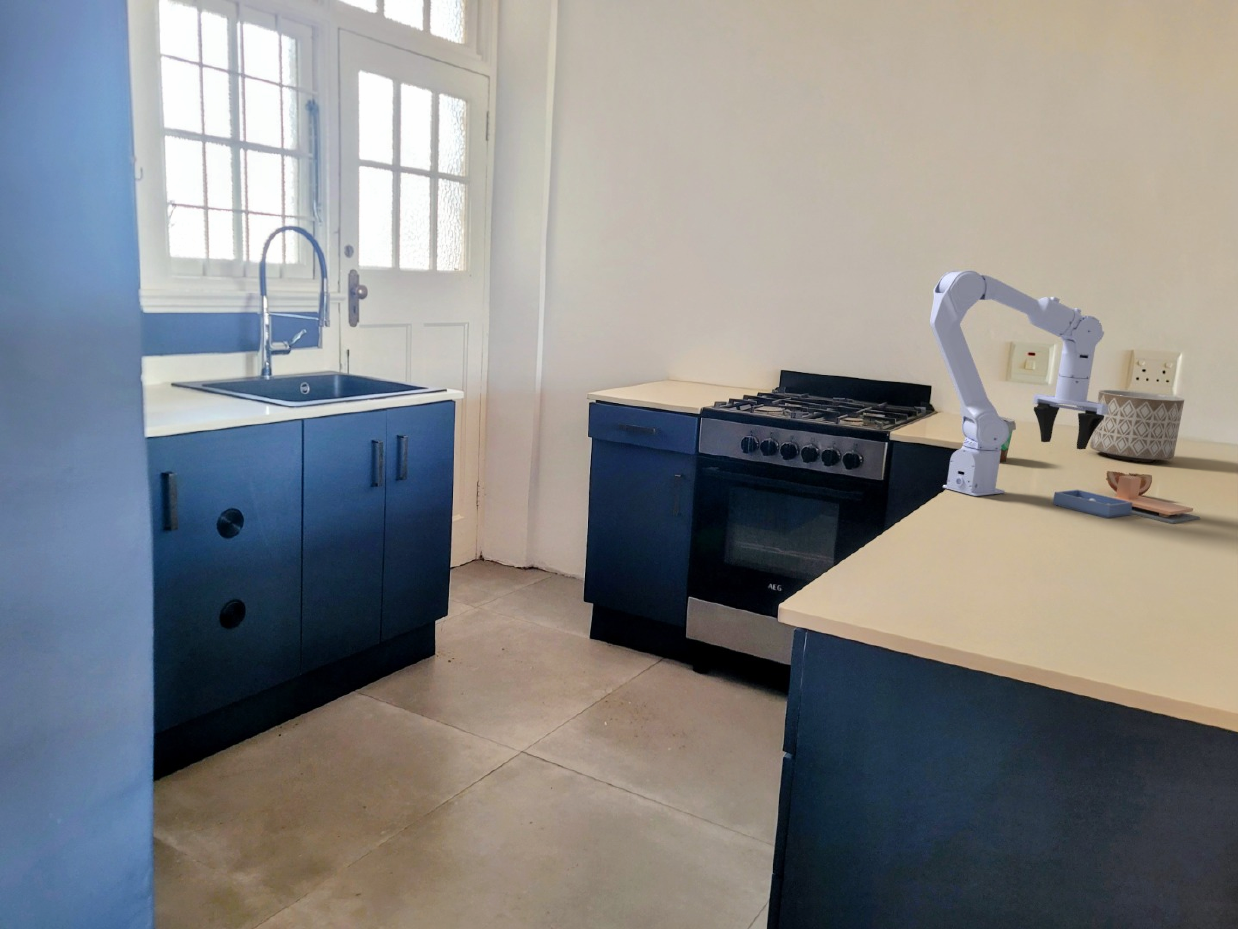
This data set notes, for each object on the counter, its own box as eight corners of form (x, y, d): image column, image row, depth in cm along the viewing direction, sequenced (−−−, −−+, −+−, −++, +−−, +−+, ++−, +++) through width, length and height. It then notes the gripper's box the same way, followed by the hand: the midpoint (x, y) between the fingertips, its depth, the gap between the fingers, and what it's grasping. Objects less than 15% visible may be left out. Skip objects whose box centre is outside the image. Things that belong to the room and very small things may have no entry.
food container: (1015, 465, 221) (1022, 423, 219) (988, 462, 222) (994, 421, 220) (1005, 456, 233) (1011, 416, 231) (979, 454, 234) (985, 414, 232)
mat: (1172, 523, 171) (1172, 521, 171) (1103, 506, 181) (1103, 504, 181) (1199, 518, 176) (1199, 516, 176) (1131, 502, 187) (1131, 500, 187)
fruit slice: (1105, 496, 192) (1109, 472, 191) (1100, 490, 198) (1104, 467, 197) (1151, 502, 190) (1155, 477, 189) (1144, 495, 196) (1148, 471, 195)
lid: (1169, 519, 172) (1174, 490, 171) (1107, 504, 182) (1112, 477, 180) (1191, 516, 176) (1197, 487, 175) (1130, 501, 186) (1135, 474, 185)
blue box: (1108, 518, 172) (1110, 505, 171) (1052, 504, 181) (1054, 492, 180) (1130, 514, 176) (1132, 502, 175) (1075, 501, 185) (1077, 489, 184)
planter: (1091, 458, 238) (1102, 394, 235) (1086, 447, 256) (1095, 387, 253) (1178, 468, 231) (1190, 402, 228) (1166, 457, 249) (1177, 395, 246)
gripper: (1121, 381, 180) (1109, 451, 183) (1051, 372, 192) (1041, 438, 195) (1100, 381, 176) (1089, 452, 179) (1031, 372, 188) (1021, 439, 191)
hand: (1063, 445), depth 187 cm, fingers open, 7 cm apart
